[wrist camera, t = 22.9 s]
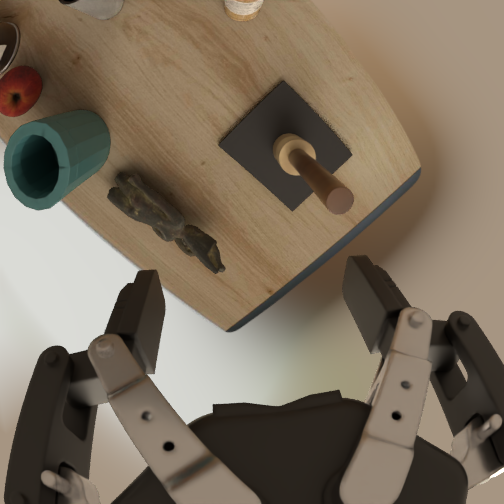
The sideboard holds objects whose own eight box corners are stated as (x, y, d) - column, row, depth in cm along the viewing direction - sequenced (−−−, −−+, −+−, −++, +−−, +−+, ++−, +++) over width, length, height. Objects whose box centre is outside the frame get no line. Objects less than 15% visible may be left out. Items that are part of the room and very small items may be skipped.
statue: (117, 190, 40) (221, 267, 44) (96, 204, 36) (210, 289, 40) (133, 157, 37) (245, 240, 41) (111, 168, 32) (236, 261, 36)
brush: (265, 149, 36) (299, 202, 20) (289, 126, 35) (344, 159, 19) (288, 171, 38) (335, 239, 22) (311, 149, 37) (377, 201, 20)
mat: (218, 144, 36) (218, 145, 36) (282, 80, 32) (283, 80, 32) (291, 210, 42) (292, 211, 41) (351, 154, 38) (352, 154, 37)
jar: (43, 153, 33) (-5, 179, 23) (74, 97, 30) (24, 105, 20) (88, 189, 37) (48, 226, 27) (123, 135, 34) (85, 154, 24)
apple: (31, 123, 30) (-1, 133, 23) (8, 94, 27) (-24, 100, 20) (59, 85, 28) (27, 88, 21) (34, 56, 25) (2, 55, 18)
